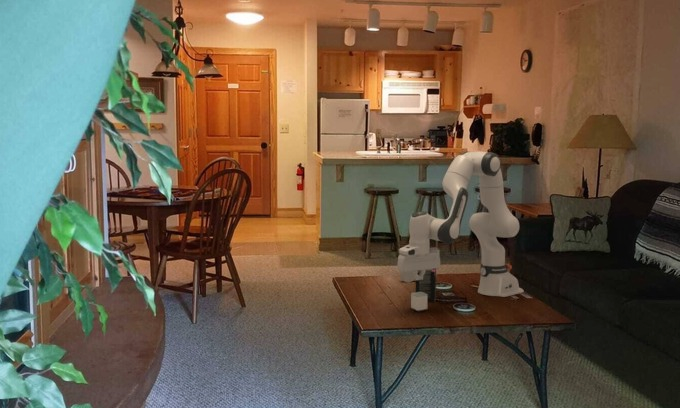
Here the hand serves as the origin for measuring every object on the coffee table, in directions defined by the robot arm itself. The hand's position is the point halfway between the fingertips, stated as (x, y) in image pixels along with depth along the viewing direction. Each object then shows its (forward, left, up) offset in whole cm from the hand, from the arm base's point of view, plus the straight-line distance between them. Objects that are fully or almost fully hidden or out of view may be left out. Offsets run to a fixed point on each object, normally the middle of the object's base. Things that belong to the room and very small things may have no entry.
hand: (419, 279), depth 273 cm
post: (0, 0, -14) cm, 14 cm away
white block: (0, 0, -13) cm, 13 cm away
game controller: (-28, -46, -14) cm, 55 cm away
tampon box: (-13, -15, -14) cm, 24 cm away
